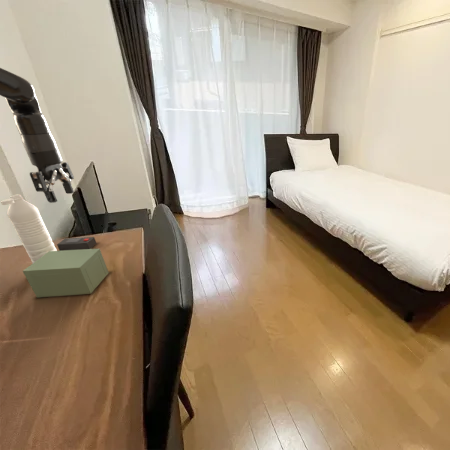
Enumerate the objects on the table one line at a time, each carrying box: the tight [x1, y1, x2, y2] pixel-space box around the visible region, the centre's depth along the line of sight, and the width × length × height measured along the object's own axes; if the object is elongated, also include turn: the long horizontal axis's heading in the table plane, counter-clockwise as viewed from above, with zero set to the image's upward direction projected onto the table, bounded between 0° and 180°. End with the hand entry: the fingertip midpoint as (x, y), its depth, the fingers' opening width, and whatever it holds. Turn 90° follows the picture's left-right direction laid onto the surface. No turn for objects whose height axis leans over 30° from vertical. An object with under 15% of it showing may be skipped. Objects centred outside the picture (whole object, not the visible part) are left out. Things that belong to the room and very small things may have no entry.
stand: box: [22, 248, 110, 298], centre depth 79 cm, size 14×10×9 cm
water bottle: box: [0, 193, 58, 264], centre depth 82 cm, size 9×6×25 cm
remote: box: [56, 236, 97, 251], centre depth 99 cm, size 10×4×3 cm, turn 97°
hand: (62, 197), depth 91 cm, fingers open, 8 cm apart
